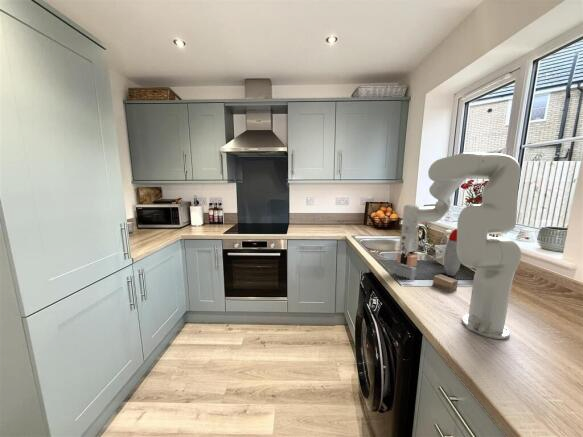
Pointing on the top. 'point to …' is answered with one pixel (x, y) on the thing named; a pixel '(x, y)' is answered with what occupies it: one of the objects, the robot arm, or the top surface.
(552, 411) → the top surface
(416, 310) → the top surface
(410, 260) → the terracotta brick
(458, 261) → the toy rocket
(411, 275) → the slate-grey brick
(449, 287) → the walnut brick
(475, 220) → the robot arm
